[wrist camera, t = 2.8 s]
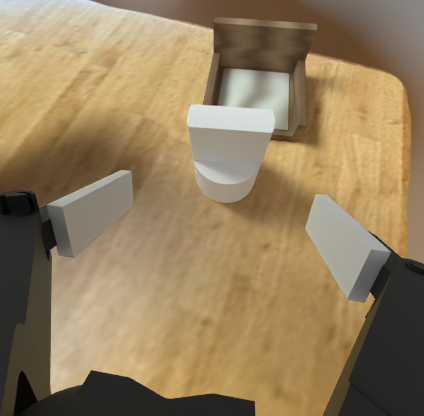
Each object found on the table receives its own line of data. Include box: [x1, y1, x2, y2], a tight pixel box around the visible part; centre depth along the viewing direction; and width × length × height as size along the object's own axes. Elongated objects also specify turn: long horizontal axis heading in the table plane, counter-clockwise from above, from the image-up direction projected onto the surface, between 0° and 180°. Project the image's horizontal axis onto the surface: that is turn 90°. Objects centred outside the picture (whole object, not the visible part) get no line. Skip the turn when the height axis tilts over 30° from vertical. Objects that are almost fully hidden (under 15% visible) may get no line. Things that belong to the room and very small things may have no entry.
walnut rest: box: [203, 17, 317, 142], centre depth 34 cm, size 16×16×8 cm
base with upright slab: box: [187, 104, 275, 203], centre depth 27 cm, size 9×9×12 cm
